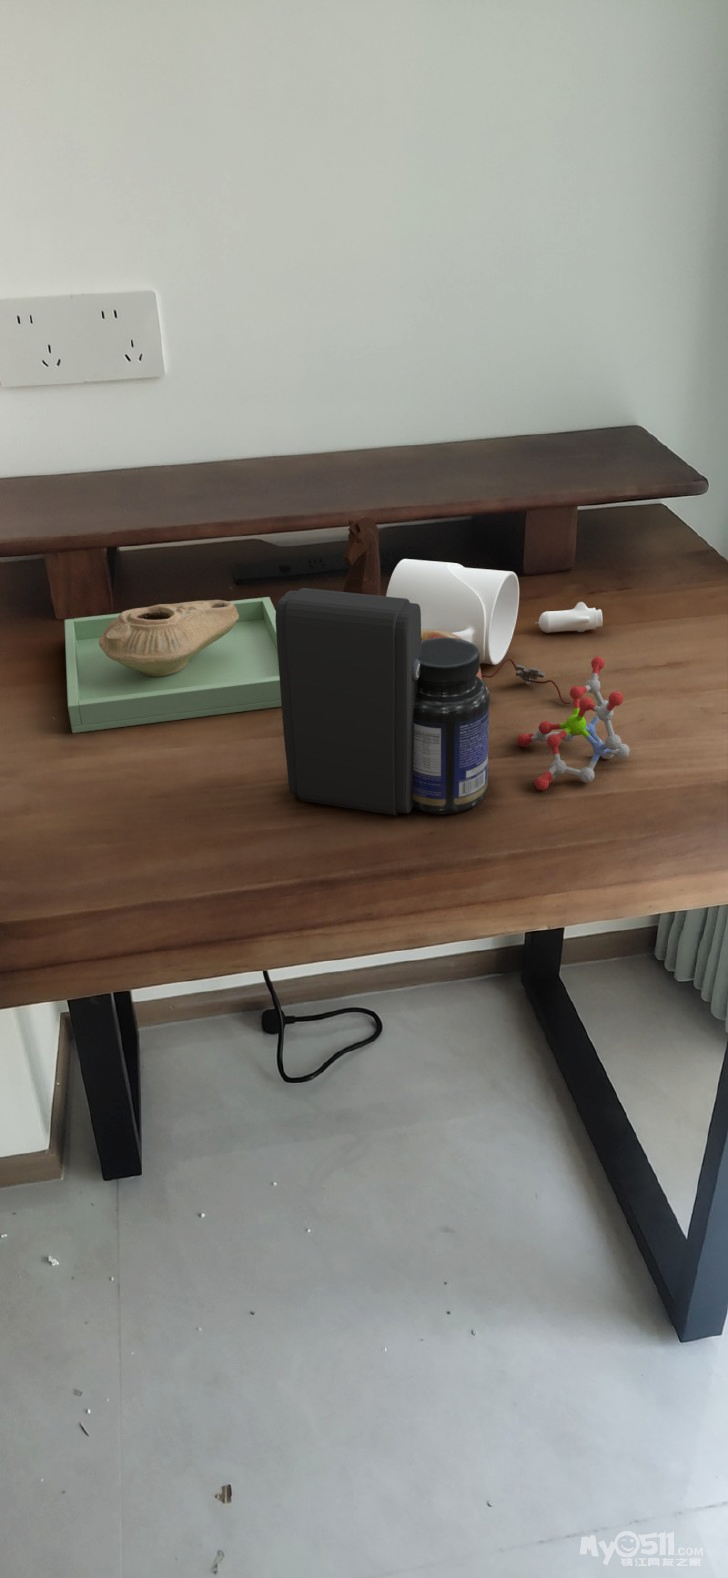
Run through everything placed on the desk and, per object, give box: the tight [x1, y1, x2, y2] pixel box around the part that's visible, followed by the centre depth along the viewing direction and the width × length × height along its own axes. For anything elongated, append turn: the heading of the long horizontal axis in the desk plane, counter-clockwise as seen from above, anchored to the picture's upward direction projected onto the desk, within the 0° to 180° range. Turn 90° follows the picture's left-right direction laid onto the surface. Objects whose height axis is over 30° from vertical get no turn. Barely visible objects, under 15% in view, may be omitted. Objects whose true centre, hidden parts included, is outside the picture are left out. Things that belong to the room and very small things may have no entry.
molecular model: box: [517, 656, 631, 791], centre depth 84 cm, size 7×8×7 cm
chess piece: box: [342, 515, 383, 596], centre depth 107 cm, size 5×5×10 cm
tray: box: [64, 596, 282, 734], centre depth 101 cm, size 19×18×2 cm
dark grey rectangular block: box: [275, 587, 421, 816], centre depth 79 cm, size 9×4×15 cm, turn 72°
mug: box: [385, 558, 520, 666], centre depth 99 cm, size 12×9×8 cm
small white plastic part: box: [536, 601, 603, 634], centre depth 106 cm, size 4×6×3 cm, turn 66°
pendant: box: [481, 658, 571, 705], centre depth 96 cm, size 8×4×3 cm
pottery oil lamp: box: [99, 599, 239, 677], centre depth 100 cm, size 9×12×7 cm
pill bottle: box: [413, 638, 491, 815], centre depth 80 cm, size 6×6×11 cm
